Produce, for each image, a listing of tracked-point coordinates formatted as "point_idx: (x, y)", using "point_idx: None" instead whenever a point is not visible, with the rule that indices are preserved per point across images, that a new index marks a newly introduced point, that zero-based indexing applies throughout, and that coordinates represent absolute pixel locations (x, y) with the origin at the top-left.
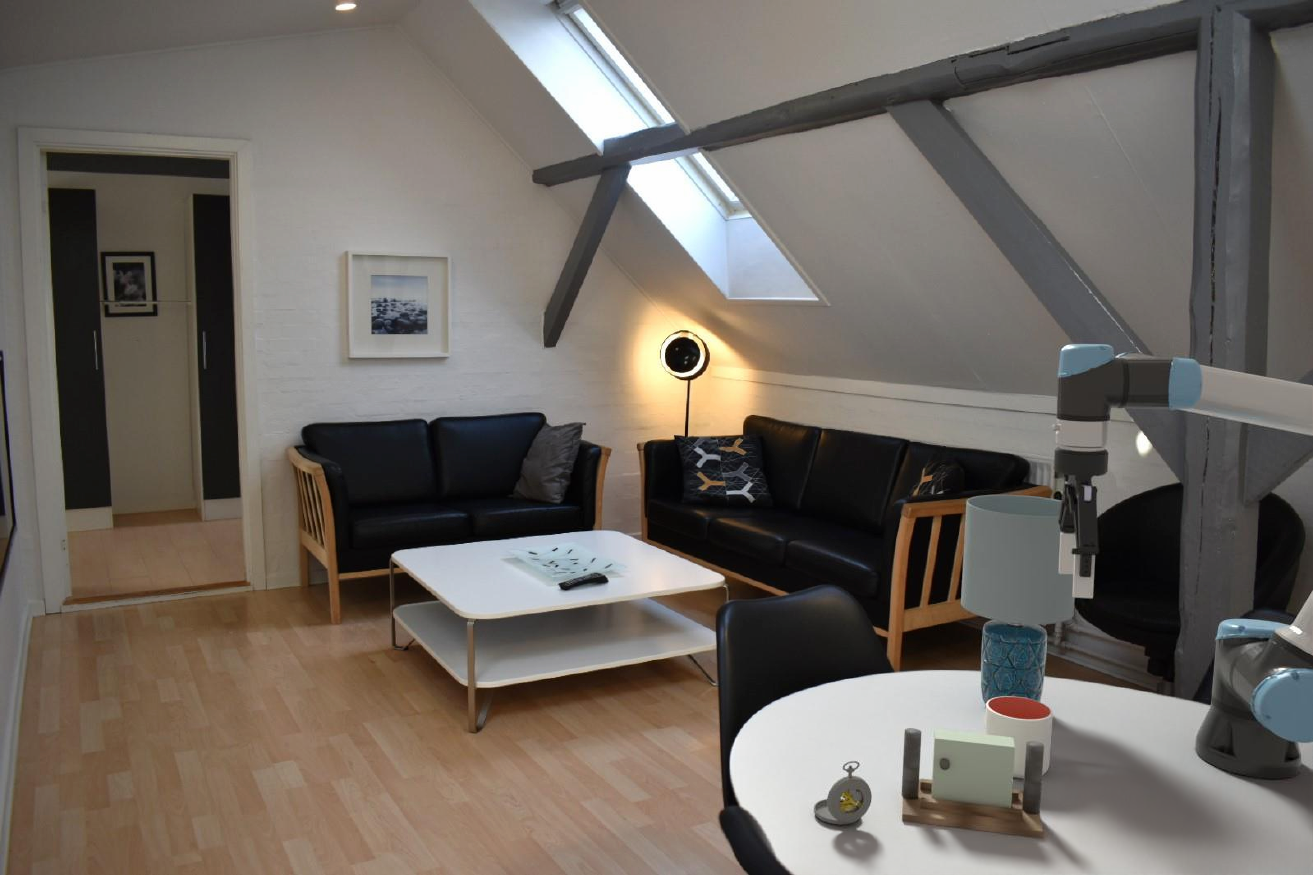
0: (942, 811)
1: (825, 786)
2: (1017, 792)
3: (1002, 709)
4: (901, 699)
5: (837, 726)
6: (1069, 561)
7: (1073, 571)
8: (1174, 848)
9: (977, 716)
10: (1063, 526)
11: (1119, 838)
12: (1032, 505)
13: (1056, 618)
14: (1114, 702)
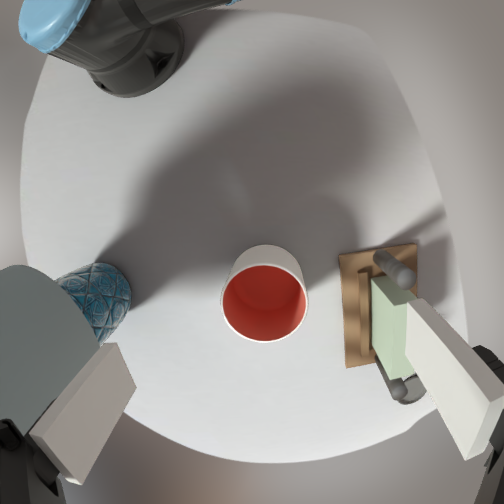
0: None
1: (366, 407)
2: (365, 273)
3: (233, 317)
4: (148, 384)
5: (242, 423)
6: (109, 390)
7: (117, 358)
8: (389, 125)
9: (148, 320)
10: (62, 500)
11: (390, 173)
12: None
13: (61, 295)
14: (48, 186)
